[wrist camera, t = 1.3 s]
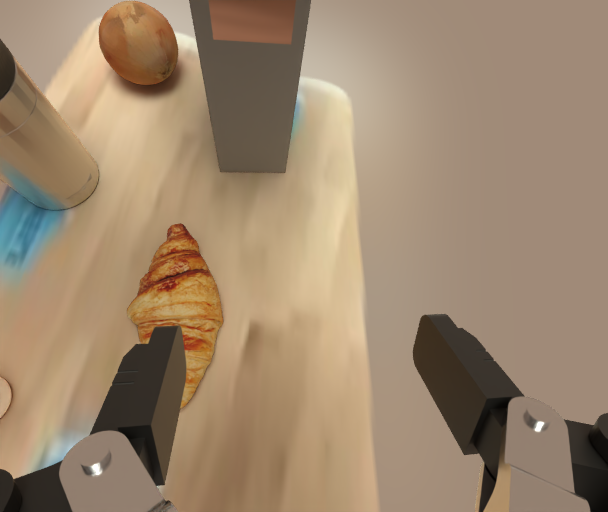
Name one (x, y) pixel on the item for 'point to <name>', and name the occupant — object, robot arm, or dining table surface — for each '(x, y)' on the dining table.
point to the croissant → (180, 302)
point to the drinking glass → (4, 396)
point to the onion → (138, 42)
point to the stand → (250, 92)
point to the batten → (253, 20)
